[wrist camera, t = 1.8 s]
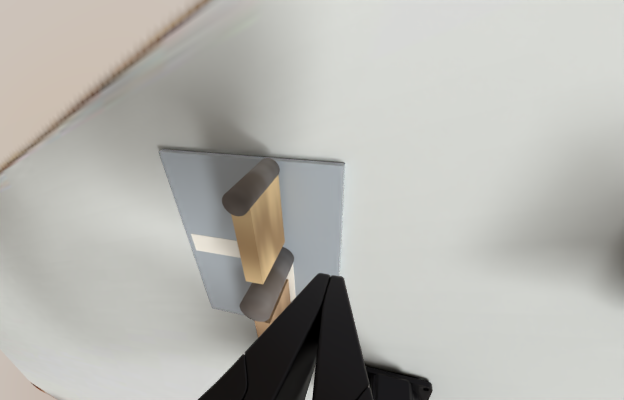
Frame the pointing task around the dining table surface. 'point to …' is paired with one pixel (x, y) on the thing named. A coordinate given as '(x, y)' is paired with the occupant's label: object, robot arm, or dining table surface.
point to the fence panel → (257, 219)
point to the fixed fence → (269, 294)
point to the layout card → (220, 230)
